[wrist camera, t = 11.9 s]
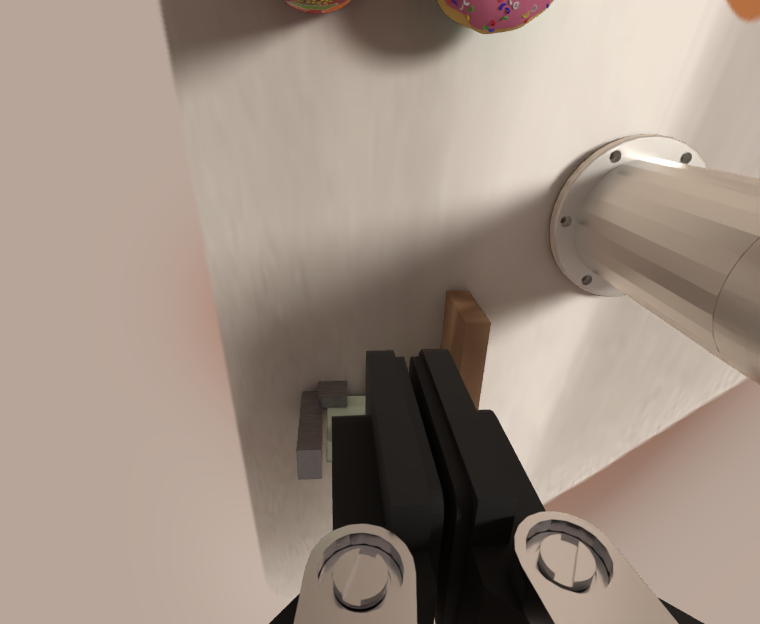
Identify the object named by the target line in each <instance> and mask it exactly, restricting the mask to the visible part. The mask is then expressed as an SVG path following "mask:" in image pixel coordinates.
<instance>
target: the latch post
mask: <svg viewBox="0 0 760 624" xmlns="http://www.w3.org/2000/svg"><path fill="white" fill-rule="evenodd" d="M332 407H347V382H346V381H332V382H319V391H317V392H302V398H301V408H300V419H299V429H298V440H297V468H298V480H299V479H320V478H322V454H323V408H332Z"/></svg>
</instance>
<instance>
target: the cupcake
mask: <svg viewBox="0 0 760 624" xmlns="http://www.w3.org/2000/svg"><path fill="white" fill-rule="evenodd" d="M437 1H438V3H439V5H440V7H441V8H442V10H443V11H444V13H445V14H446V15H447V16H448V17H449V18H451V19H452V20H454V21H455V22H457V23H459V24H461V25H463V26H465V27H468V28H471V29H473V30H475V31H477V32H479V33H481V34H492V33H499V32H506V31H511V30H515V29H518V28H520V27H522V26H524V25H525V24H527V23H528V22H530V21H531V20H532V19H534V18H535V17H537V16H538V15H539V14H541V13H542V12H543V11H544V10H546V9H547V8H548V7H549V5H550V4H551V3H552V2H553V0H437Z"/></svg>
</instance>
